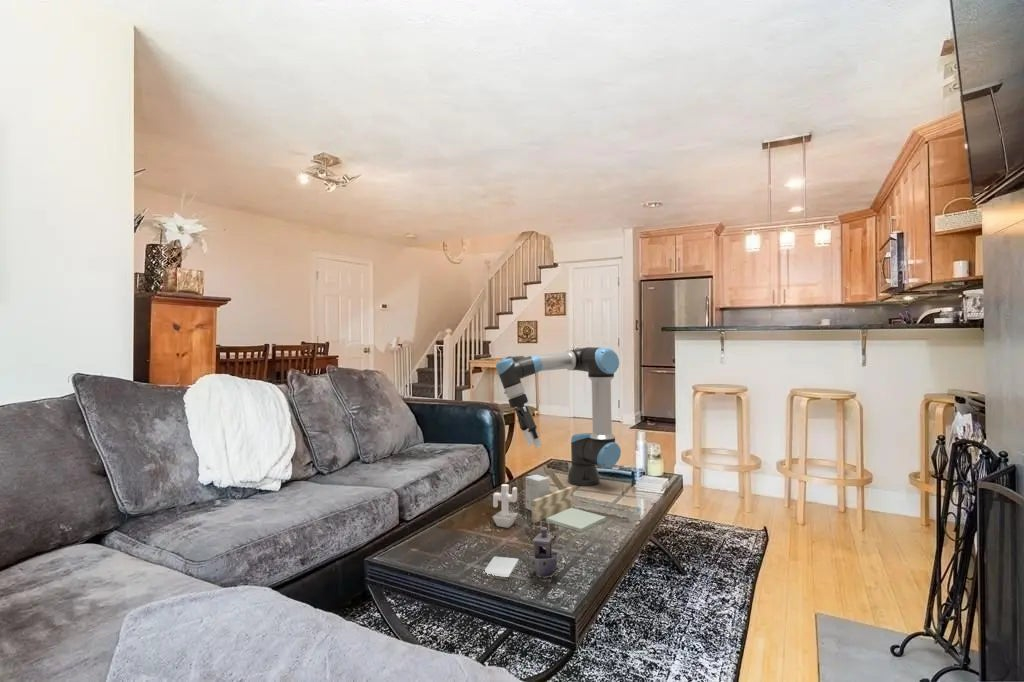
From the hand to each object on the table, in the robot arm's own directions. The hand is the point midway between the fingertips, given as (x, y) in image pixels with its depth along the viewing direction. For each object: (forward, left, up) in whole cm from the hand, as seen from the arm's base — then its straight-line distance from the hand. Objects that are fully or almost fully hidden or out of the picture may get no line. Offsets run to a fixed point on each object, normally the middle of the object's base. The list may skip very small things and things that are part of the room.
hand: (534, 445), depth 204 cm
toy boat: (+41, +38, -26) cm, 62 cm away
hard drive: (+47, +26, -27) cm, 60 cm away
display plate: (-1, +19, -26) cm, 32 cm away
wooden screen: (-1, +8, -26) cm, 27 cm away
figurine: (+20, +2, -26) cm, 33 cm away
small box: (-1, 0, -26) cm, 26 cm away
